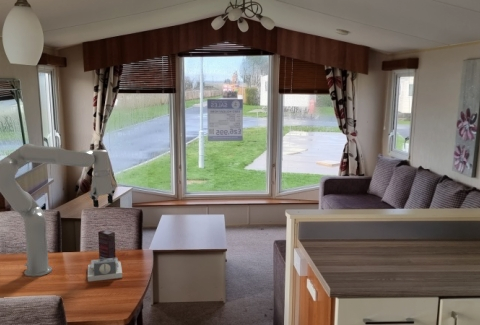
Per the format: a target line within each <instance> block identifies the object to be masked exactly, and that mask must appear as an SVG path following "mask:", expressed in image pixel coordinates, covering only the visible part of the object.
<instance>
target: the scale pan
mask: <svg viewBox="0 0 480 325" xmlns="http://www.w3.org/2000/svg"><path fill="white" fill-rule="evenodd" d="M113 260H115V263H116V267H118V262H119V260H118V257H116V258H107V259H99V258H98V259H90V264H91V270H94V262H104V261H113Z"/></svg>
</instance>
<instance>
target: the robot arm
mask: <svg viewBox="0 0 480 325" xmlns="http://www.w3.org/2000/svg"><path fill="white" fill-rule="evenodd" d="M28 163H33V164H35V163H36V164H48V165H49V164H50V165H51V164H52V165H60V166H69V167H79V168H80V167H81V168H83V167H84V168H88V167H91V166H93V176H92V181H91V190H90V191H89V192H88V195H89V198H91V200H93V201H92V202H93V208H97V209H98V208H99V200H98V199H99V197H101V196H105V195H107V203H108V204H114V199H113V196H114V194H115V193H116V192H115V191H116V186H114V185H112V179H111V175H110V172H111V171H110V168H109V167H110V166H109V153H108V151H107V150H106V149H97V150H88V149H87V150H86V149H83V150H81V151H76V150H69V149H65V148H62V147H57V146H46V145H35V144H33V143H25V144H23V145H20V147H18V148H17V149H15V150H14V151H13V152H11V153H10V154H8V155H6V156H5V157H4V158H2V159H1V160H0V194H1V196H3V198H4V199H5V200H6V201H7V202H8V204H9V206H10V207H11V208H12V209H13V211H14V212H16V213H18V214H19V215H20V217H22V219H23V220H24V232H25V233H24V234H25V246H26V260H27V262H26V263H24V266H26V269H25V270H24V276H27V277H32V278H33V277H41V276H45V275H47V274H51V272H52V271H53V268H52V266H50V265H49V253H48V252H49V251H48V239H47V238H48V237H47V236H48V234H47V218H46V215H45V212H44V211H43V209H42V208H41V207H40V205H39V204H38V203H37V201H35V199H34V197H33V196H32V195H31V194H30V193H29V192H27V191H25V190H24V189H22V187H21V185H20V184H19V182H17V180H16V175H17V173H18V172H19V170H20V169H22V168H23V167H24V166H26V165H27V164H28Z"/></svg>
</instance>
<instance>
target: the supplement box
mask: <svg viewBox="0 0 480 325" xmlns="http://www.w3.org/2000/svg"><path fill="white" fill-rule="evenodd" d="M97 232H98V233H97V234H98V235H97V237H98V257H99V258H98V259H107V258H116V233H115V232H114V231H110V230H106V229H104V230H99V231H97Z"/></svg>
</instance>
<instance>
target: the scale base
mask: <svg viewBox="0 0 480 325" xmlns="http://www.w3.org/2000/svg"><path fill="white" fill-rule="evenodd" d="M122 278H123V268H122V263H121V260H120V261H119V260H118V267H116V263H115V260H113V261H104V262H94V270H91V263H90V264H88V265H87V282H95V281H103V280H106V281H107V280H113V279H122Z"/></svg>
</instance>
